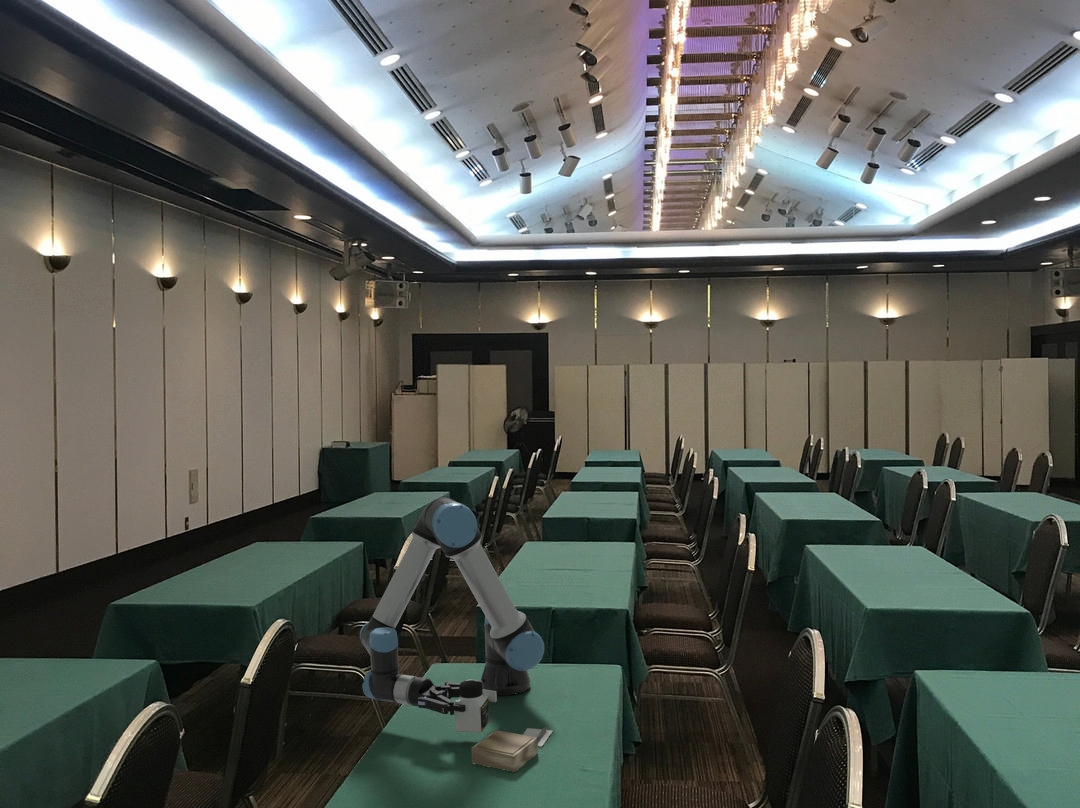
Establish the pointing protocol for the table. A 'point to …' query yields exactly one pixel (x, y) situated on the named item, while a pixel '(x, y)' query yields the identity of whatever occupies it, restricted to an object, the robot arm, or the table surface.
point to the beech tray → (504, 750)
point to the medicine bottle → (473, 694)
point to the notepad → (539, 735)
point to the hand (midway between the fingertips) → (486, 702)
